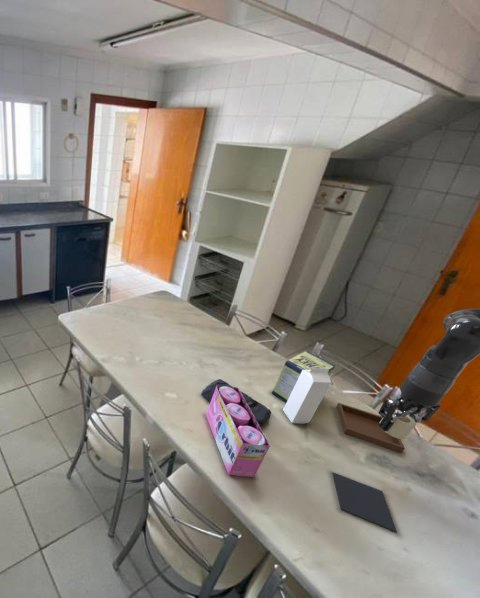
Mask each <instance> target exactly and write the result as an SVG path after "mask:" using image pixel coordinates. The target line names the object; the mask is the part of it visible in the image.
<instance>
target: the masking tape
mask: <svg viewBox="0 0 480 598" xmlns="http://www.w3.org/2000/svg"><path fill="white" fill-rule="evenodd" d="M396 410H397V411H398V412H399V413H402V412H401V411H400V410H399V409H396ZM395 415H396V414H395V413H394V414H393V415H392V417H394V416H395ZM382 419H383V418H382ZM380 422H381V421H380ZM416 426H417V423H416V422H415V420H414V419H413V418H412V417H410V416H409V415H407V416H405V417H404V418H399V419H398V420H396V421H395V422H394V424H393V425H392V426H391V428H390V429H389V430H388V431H384V432H386V433H387V434H389V435H391V436H393V437H395V438H398V439H401V440H405V439H407V437H409V435H410V434H411V432H412V431H413V430H414V429H415V427H416Z"/></svg>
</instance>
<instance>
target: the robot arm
mask: <svg viewBox="0 0 480 598" xmlns="http://www.w3.org/2000/svg"><path fill="white" fill-rule="evenodd" d="M442 323H443V324H442V326H443V329H444V330H445V334H444V336H443V337H442V338H441V339H440V340H439V342H438V343H436V344H433V345H431V346H430V347H429V348H428V349H427V350H426V351H425V353H424V354H423V355H422V357H421V358H420V360H418V362H417V363H416V364H415V365H414V366H413V368H412V369H411V370H410V372H409V373H408V375H407V376H406V377H405V379H404V380H403V382H402V383H401V385H400V386H399V391H400V395H399V396H398V397H396V399H391V398H390V397H386V398H385V399H384V401H383V402H382V405H381V406H380V408H379V411H378V415H379V416H382V417H383V419H382V420H381V422H380V423H379V427H380V428H381V429H382V430H383V431H388V430H389V429H390V428H391V426H392V425H393V424H394V422H395V421H396V420H398V419H399V418H404V417H405V416H407V415H409V416H410V417H412V418H413V419H414V420H415V422H416V424H419V423H421V422H422V421H423V422H427V421H429V420H430V419H431V418H432V416H434V414H435V413H437V412H438V410H439V409H440V408H441V407H442V405H441V404H440V402H442V400H443V398H444V397H445V396H446V395H447V394H448V392H449V391H450V390H451V388H452V387H453V386H454V385H455V382H456V380H457V379H458V377H459V376H460V374H461V373H462V372H463V371H464V370H465V368H466V367H467V365H468V364H469V363H470V362H472V361H473V360H475V359H477V357H479V356H480V308H466V309H459V310H456V311H455V310H454V311H453V312H451V313H449V314H447V315H446V316H444V319H443V322H442ZM397 410H399V411H401V412H402V413H399V412H398V411H397ZM394 413H395V414H396V415H395V416H394V417H392V415H393V414H394Z"/></svg>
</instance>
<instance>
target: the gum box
mask: <svg viewBox="0 0 480 598" xmlns="http://www.w3.org/2000/svg"><path fill="white" fill-rule="evenodd" d="M232 387H233V388H230V387H226V386H225V387H220V388H219V385H218V386H216V389H215V392H214V394H213V397H212V400H211V402H209V406H208V408H207V411H206V414H205V416H206V419H207V421H208V425H209V428H210V429H211V432H212V435H213V438H214V440H215V443H216V446H217V448H218V451H219V453H220V456H221V460H222V461H223V464H224V467H225V470H226V472H227V474H228V475H229V476H238V477H251V478H255V477H256V475H257V473H258V471H259V469H260V466H261V465H262V463H263V462H264V459H265V457H266V455H267V454H268V452H269V450H270V447H271V444H270V443H269V440H268V438H267V436H266V435H265V433H264V431H263V430H262V428H261V426H259V424H258V423H257V421H256V419H255V417H254V415H253V414H252V412H251V410H250V408H249V406H248V405H247V403H246V401H245V399H244V397H243V395H242V394H241V392H242V391H241V390H240V389H239V387H237V386H232ZM240 391H241V392H240Z"/></svg>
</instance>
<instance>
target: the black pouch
mask: <svg viewBox="0 0 480 598" xmlns="http://www.w3.org/2000/svg"><path fill="white" fill-rule="evenodd" d="M218 385H219V388H220V387H225V386H226V387H230V388H233V387H234V386H232V385H230V384H229V383H228V382H226V381H225V380H223V379H221V378H218V379H216V380H214V381H212V382H210V383H209V384H208V385H206V387H205V388H204V389H202V391H201V393H200V395H201V397H203V399H205V400H206V401H207V402H208V403H210V402H211V400H212V397H213V394H214V392H215V389H216V386H218ZM240 392H241V394H242V395H243V397H244V399H245V401H246V403H247V405H248V406H249V408H250V410H251V412H252V414H253V415H254V417H255V419H256V421H257V423H258V424H259V426H260V427H263V426H264V425H266V423H267V422H268V421H269V420H270V417H271V415H272V411H271V409H270V408H268V407H267V406H266V405H264V404H262V403H261V402H259V401H257V400H255V399H254V398H252V397H251V396H249V395H248V394H246V393H245V392H243V391H242V390H240Z"/></svg>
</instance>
